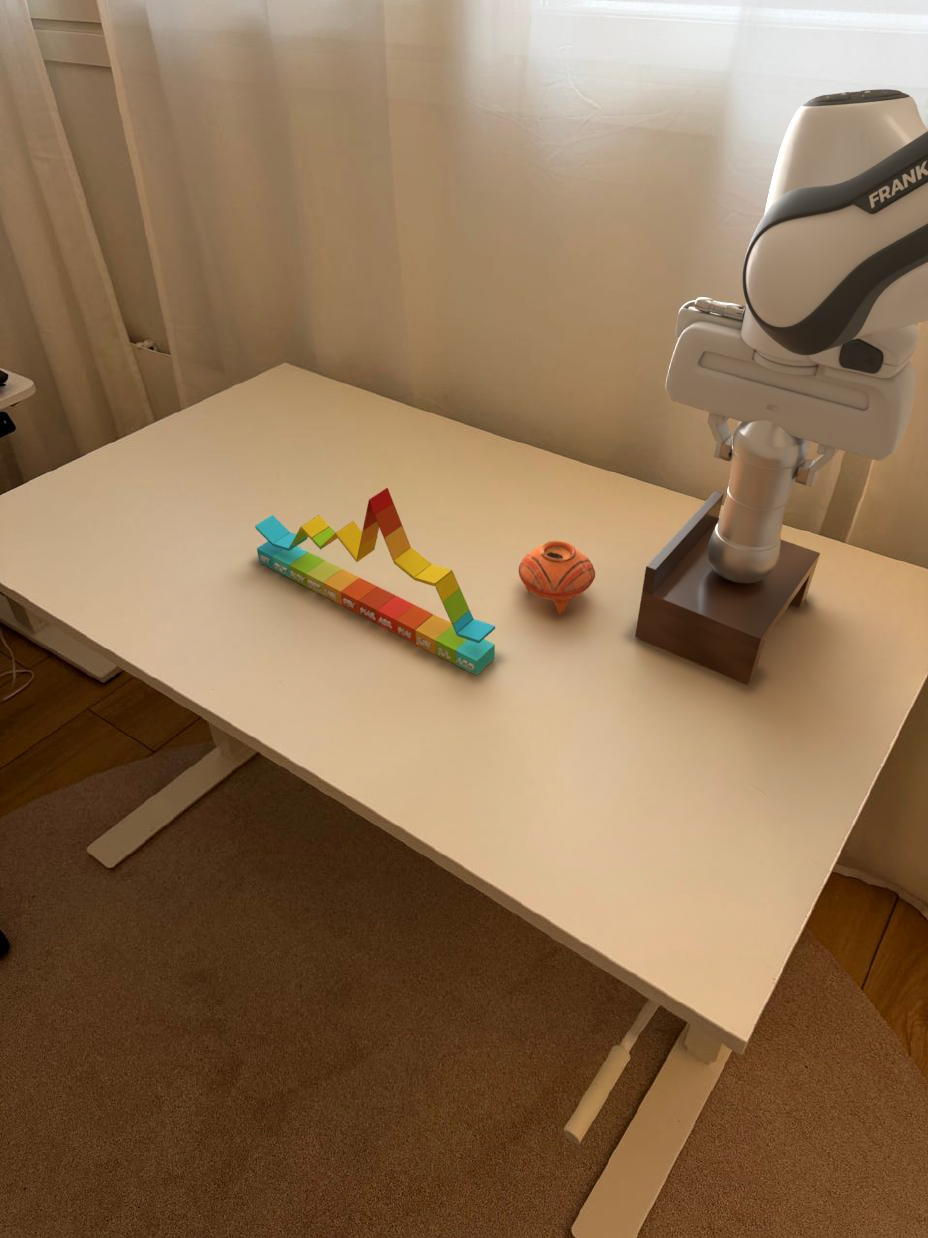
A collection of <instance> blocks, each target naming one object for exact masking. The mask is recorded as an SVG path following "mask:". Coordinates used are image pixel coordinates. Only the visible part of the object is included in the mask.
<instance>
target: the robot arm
mask: <svg viewBox="0 0 928 1238" xmlns="http://www.w3.org/2000/svg"><path fill="white" fill-rule="evenodd" d="M768 191H769V192H768V195H767V201H766V204H765V210H764V215H763V217H762V218H761V219H760V220H759V223H758V225H757V226H756V229H755V231H754V233H753V234H752V237H751V238H750V242H749V244H748V247H747V248H746V249H747V250H746V253H745V256H744V261H743V266H742V278H741V279H742V290H743V295H744V300H745V302H746V306H745V305H741V304H736V303H732V302H721V301H717V300H714V299H713V298H710V297H705V296H703V297H702V296H701V297H699V296H698V297H697V298H696V300H690V301H687V302H686V303H684V304H683V305H682V306H681V307H680V309H679V311H678V314H677V317H676V324H675V330H674V331H675V332H674V333H675V338H676V340H677V342H676V344H675V347H674V350H673V353H672V356H671V358H670V362H669V367H668V370H667V373H666V379H665V384H664V389H665V390H664V391H665V392H666V395H667V396H668V398H669V400H670V401H671V402H673V403H676V404H679V405H683V406H687V407H690V408H693V409H697V410H700V411H704V412H707V413H708V418H707V423H708V427H709V429H710V431H711V434H712V436H713V439H714V441H715V442H716V443H715V448H714V451H713V452H714V453H713V456H714V458H716V459H718V460H719V459H720V460H722V461H725V462H731V456H732V442H733V435H732V434H731V430H730V427H729V423H728V420H729V419H732V420H734V421H737V422H738V421H739V422H740V421H742V422H745V423H752V422H755V421H762V420H767V421H771V422H774V423H775V424H777V425H778V426H779V427H781V428H782V429H783V430H784V431H785V432H786V433H787V434H789V435H791V436H794V437H797V438H801V439H804V440H808V441H810V443H815V444H818V446H817V450H816V453H817V455H819V456H818V457H817V458H815V459H811V458H807V457H806V458H805V460H804V462H803V463H802V464H801V465H800V466H799V468H798V472H797V474H798V475H797V477H796V479H795V482H794V483H796V484H800V485H802V486H806V487H810V488H813V486H814V485H815V484H816V483H817V480H818V478H819V475H820V472H821V469H822V468H823V467H824V466H826V465H827V464H828V463H829V462H830V461H832V460H833V459H834V457H835V456H836V455H837V453H839V451H842V452H846V453H848V454H849V453H850V454H853V455H857V456H860V457H864V458H866V459H871V460H874V461H878V462H880V461H883V460H886V459H887V458H889V457H891V456H892V455H893V454H895V453H896V451H897V450H898V449H899V448H900V446H901V444H902V442H903V440H904V438H905V437H906V432H907V429H908V426H909V422H910V420H911V415H912V410H913V406H914V401H915V396H916V389H917V372H916V369H915V366H914V364H913V363H912V361H911V359H912V358H913V356H914V354H915V352H916V350H917V348H918V345H919V342H920V339H921V330H920V328H919V327H918V326H917V324H920V323H925V322H928V128H927V126H926V125H925V123H924V122H923V120H922V118H921V115H920V112H919V109H918V105H917V103H916V101H915V99H914V98H913V96H911V95H910V94H908V93H904V92H902V90H897V89H890V88H889V89H887V88H886V89H883V88H882V89H879V88H878V89H865V90H864V89H863V90H859V91H845V92H839V93H832V94H831V93H830V94H822V95H819V96H816V97H813V98H811V99H810V100H808V101H807V102H805V103H803V104H802V105H801V106H800V107H799V108H798V109H797V110H796V112H795V114H794V116H793V117H792V119H791V121H790V123H789V126H788V128H787V129H786V133H785V134H784V138H783V140H782V143H781V146H780V149H779V152H778V156H777V159H776V163H775V166H774V170H773V174H772V178H771V183H770V186H769V190H768ZM767 405H771V406H775V407H778V408H779V411H778V412H774V411H770V410H767V409H766V408H767Z"/></svg>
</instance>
